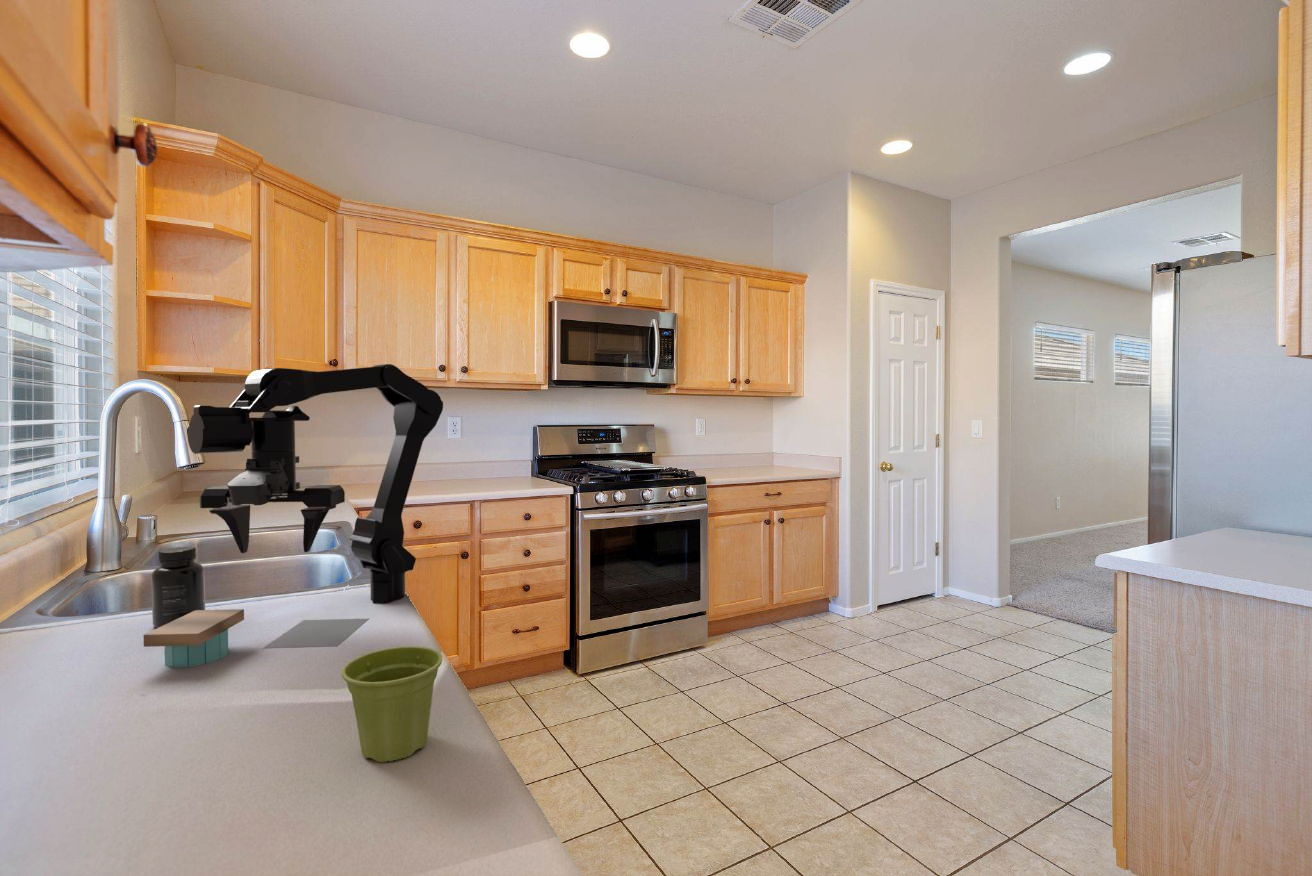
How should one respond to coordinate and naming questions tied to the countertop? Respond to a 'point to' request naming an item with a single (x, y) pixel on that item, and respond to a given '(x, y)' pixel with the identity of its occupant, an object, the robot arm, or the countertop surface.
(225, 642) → the ramekin
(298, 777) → the countertop surface
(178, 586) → the supplement bottle
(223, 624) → the walnut board
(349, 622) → the trivet
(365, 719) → the plant pot
